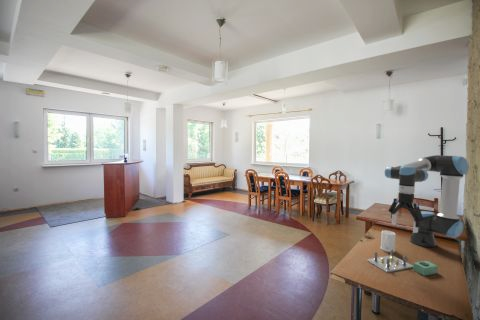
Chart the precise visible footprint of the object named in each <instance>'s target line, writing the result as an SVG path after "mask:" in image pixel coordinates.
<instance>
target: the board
mask: <svg viewBox="0 0 480 320" xmlns="http://www.w3.org/2000/svg"><path fill="white" fill-rule="evenodd" d="M438 266H439V265H437V264H434V263H433V262H430V261H428V260H422V261H417V262H413V268H412V270H413V271H414V272H416V273H418V274H420V275H422V276H429V275H434V274H437V273H438V268H439V267H438Z"/></svg>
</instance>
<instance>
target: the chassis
mask: <svg viewBox="0 0 480 320" xmlns="http://www.w3.org/2000/svg"><path fill="white" fill-rule="evenodd" d="M368 261H369V262H368ZM366 262H368V263H370V264H372V265H373V264H374V266H375V267H377V268H379V270H382V271H384V272H386V273H387V274H388V273H392V272H398V271H404V270H407V269H413V266H414V264H410V263H409V262H407V256H406V255H403V256H402V259H400V258H398V257H397V256H395V255H394V252H393V250H390V252H389V255H384V256H379V257H378V252H377V251H374V257H372V258H368V259H366Z"/></svg>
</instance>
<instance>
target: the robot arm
mask: <svg viewBox="0 0 480 320" xmlns="http://www.w3.org/2000/svg"><path fill="white" fill-rule="evenodd" d="M469 169H470V168H469V163H468V160H467V159H466V158H465V157H464V156H462V155H461V156H460V155H459V156H458V155H439V154H438V155H437V154H436V155H429V156H425V157H422V158H421V157H420V158H419V159H417V160H416V161H412V162H409V163H406V164H402V165H398V166H387V167H386V168H385V169H384V176H385V178H388V179H390V180H391V179H392V180H399V181H398V194H397V195H398V196H397V198H395V197H394V198H393V201H392V204H391V205H390V207H389V209H388V211H387V212H389V213H390V214H391V216H390V218H391V225H393V226H394V225H397V219H398V218H397V217H398V216H397V215H398V214H397V212H398V211H400V210H401V209H405V210H408V212H409V213H410V215H411V217H412V218H413V225H412V226H413V227H412V233H411V235H410V236H409V241H410V242H411V243H412V244H414V245H417V246H419V247H420V246H421V247H425V248H435V247H436V246H437V241H436V238H435V236H434V233H435V234H438V235H443V236H445V237H449V238H452V239H455V238H458V237H459V236H460V235H461V234H462V232H463V231H464V230H463V229H464V222H462V221H460V220H461V219H460V217H459V216H458V203H459V194H460V193H459V192H460V182H461V181H460V180H461V179H463V178H464V175H467V174H468V171H469ZM428 172H435V173H439V176H440V177H441V178H442V181H441V195H440V207H439V212H438V213H436V214H435V212H432V211H423V210H422V211H421V209H420V203H419V202H416V203H415V202H414V200H415V194H414V193H415V190H416V189H415V188H416V186H415V185H416V183H421V182H425V181H427V180H428V178H429V173H428Z"/></svg>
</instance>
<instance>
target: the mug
mask: <svg viewBox="0 0 480 320" xmlns="http://www.w3.org/2000/svg"><path fill="white" fill-rule="evenodd" d="M380 237H381V238H380V247H379V248H380V250H381V251H384V252H386V253H390V250H393V253H396V249H395V248H396V233H395V232H394V231H391V230H386V229H385V230H382V231H381V236H380Z"/></svg>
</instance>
